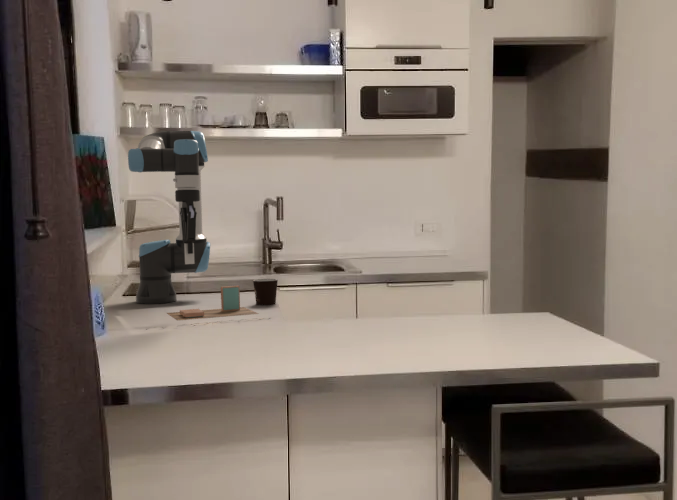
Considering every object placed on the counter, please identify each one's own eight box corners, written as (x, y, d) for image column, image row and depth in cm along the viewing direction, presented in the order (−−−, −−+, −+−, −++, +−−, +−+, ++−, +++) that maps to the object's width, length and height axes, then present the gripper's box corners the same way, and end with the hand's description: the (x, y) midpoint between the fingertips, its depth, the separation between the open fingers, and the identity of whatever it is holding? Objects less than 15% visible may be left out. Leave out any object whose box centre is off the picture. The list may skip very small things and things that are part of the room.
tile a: (179, 310, 228) (185, 313, 220) (198, 308, 230) (204, 311, 223) (179, 314, 228) (185, 318, 221) (198, 313, 230) (204, 316, 223)
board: (166, 317, 232) (166, 312, 232) (243, 311, 243) (243, 306, 243) (177, 325, 217) (177, 320, 217) (258, 318, 228) (258, 313, 227)
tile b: (221, 310, 235) (220, 286, 234) (239, 309, 237) (238, 285, 237) (222, 311, 233) (221, 287, 233) (240, 310, 236) (239, 286, 235)
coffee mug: (274, 310, 245) (273, 281, 244) (250, 309, 246) (249, 281, 246) (283, 305, 256) (282, 277, 255) (260, 305, 258) (260, 277, 257)
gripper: (171, 189, 228) (173, 262, 230) (179, 188, 216) (182, 266, 218) (194, 189, 231) (196, 261, 233) (204, 188, 219) (206, 264, 221)
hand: (189, 263), depth 225 cm, fingers closed
